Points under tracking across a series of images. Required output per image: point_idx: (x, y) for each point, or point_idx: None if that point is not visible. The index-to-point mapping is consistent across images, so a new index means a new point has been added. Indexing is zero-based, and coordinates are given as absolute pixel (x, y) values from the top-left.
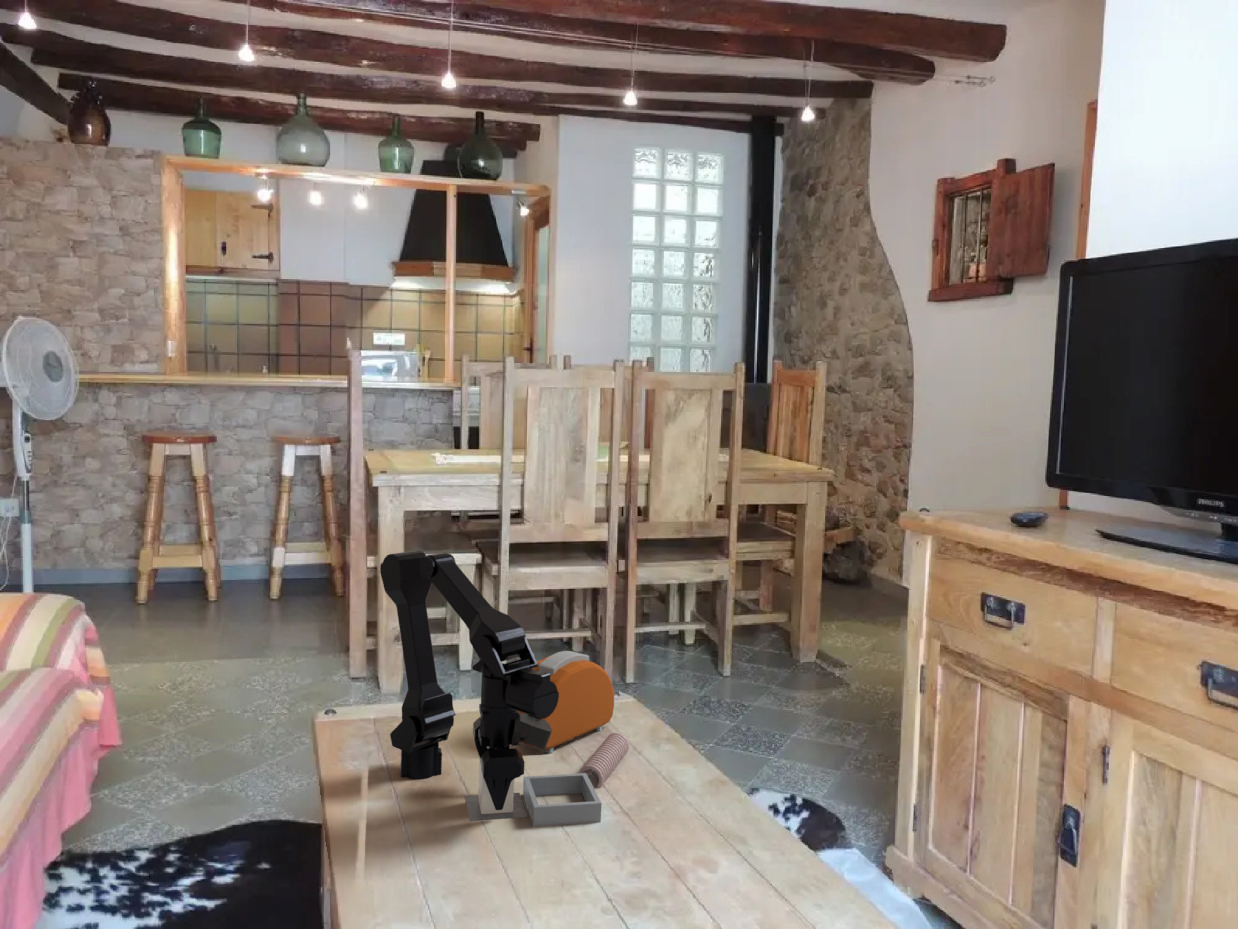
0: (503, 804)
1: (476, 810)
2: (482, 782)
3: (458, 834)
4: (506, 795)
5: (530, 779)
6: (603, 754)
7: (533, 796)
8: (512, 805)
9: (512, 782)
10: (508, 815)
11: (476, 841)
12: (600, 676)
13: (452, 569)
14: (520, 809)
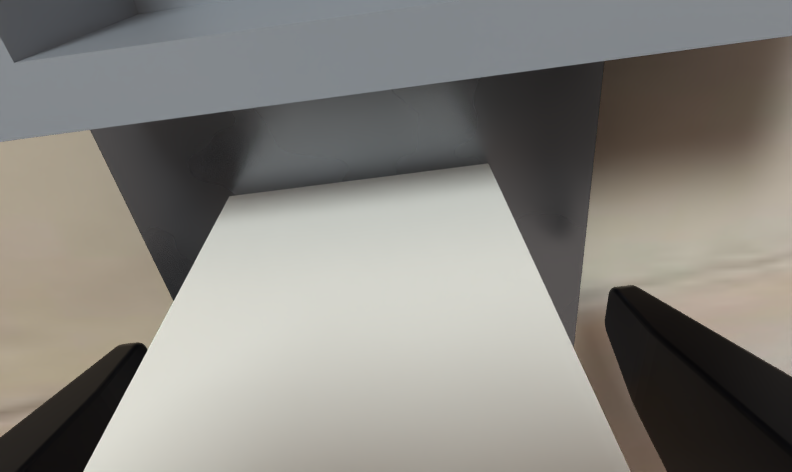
0: (674, 314)
1: None
2: None
3: (620, 398)
4: (779, 373)
5: (9, 36)
6: None
7: (679, 6)
8: (501, 196)
9: (573, 373)
10: (542, 195)
11: (729, 328)
12: None
13: None
14: (441, 100)
